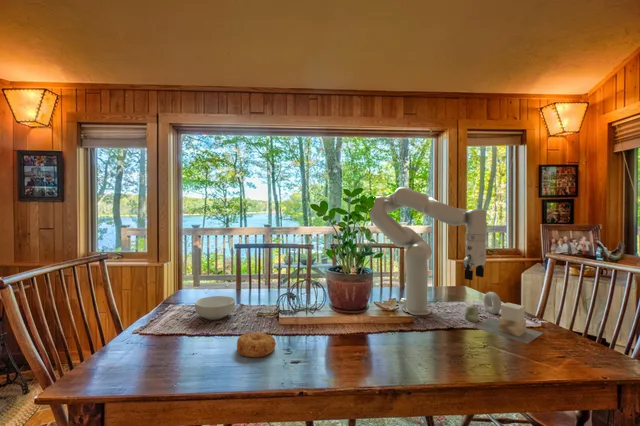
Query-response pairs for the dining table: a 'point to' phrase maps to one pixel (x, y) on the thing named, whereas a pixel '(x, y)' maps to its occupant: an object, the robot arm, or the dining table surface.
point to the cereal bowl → (214, 307)
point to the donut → (496, 301)
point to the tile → (493, 327)
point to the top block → (512, 312)
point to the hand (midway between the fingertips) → (474, 278)
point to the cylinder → (471, 313)
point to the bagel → (255, 344)
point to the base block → (512, 326)
